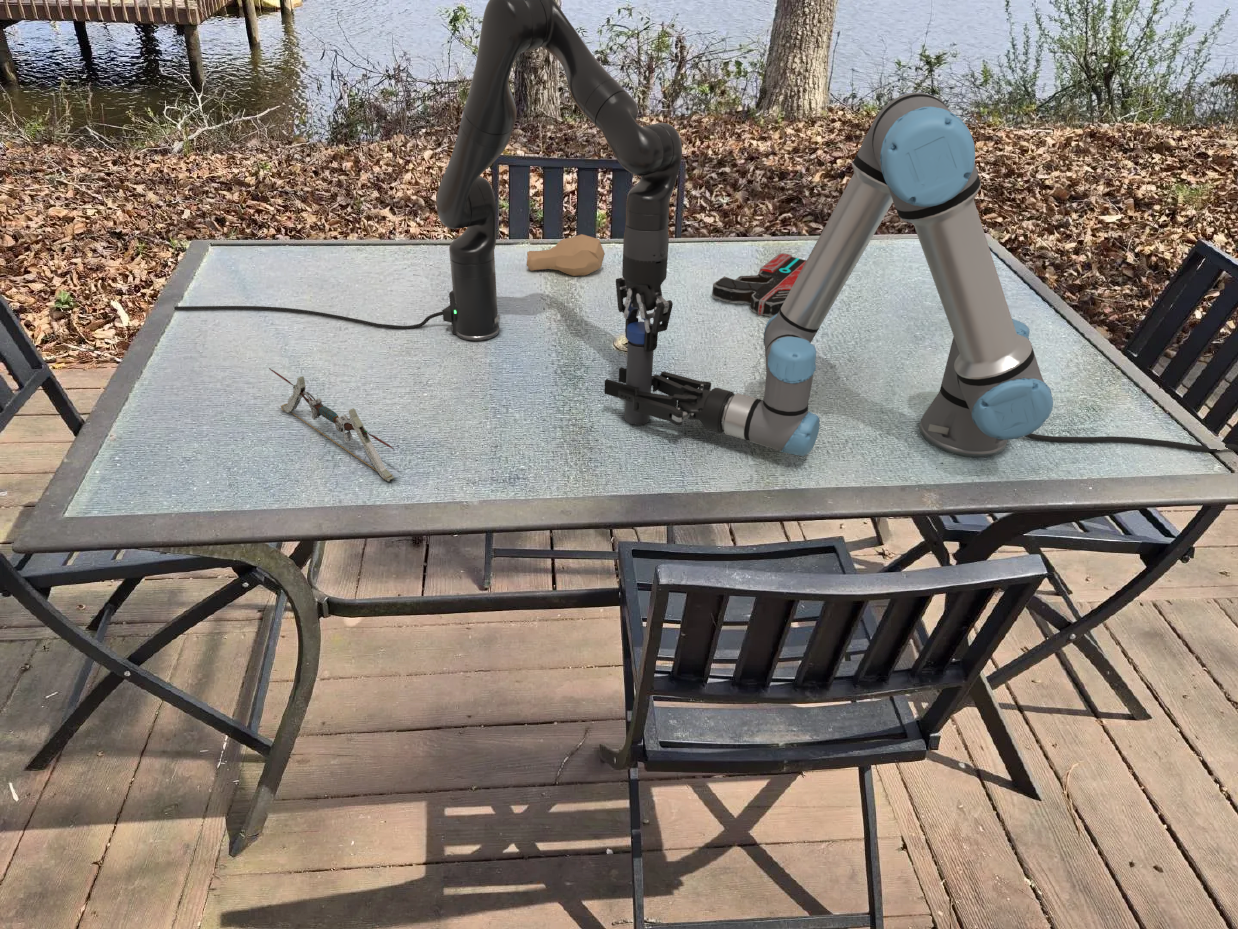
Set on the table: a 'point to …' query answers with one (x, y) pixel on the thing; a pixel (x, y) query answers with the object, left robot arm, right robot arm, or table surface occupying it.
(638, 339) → the lid
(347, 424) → the bow
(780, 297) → the gun
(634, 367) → the dark grey bottle
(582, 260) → the squash
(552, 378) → the table surface
